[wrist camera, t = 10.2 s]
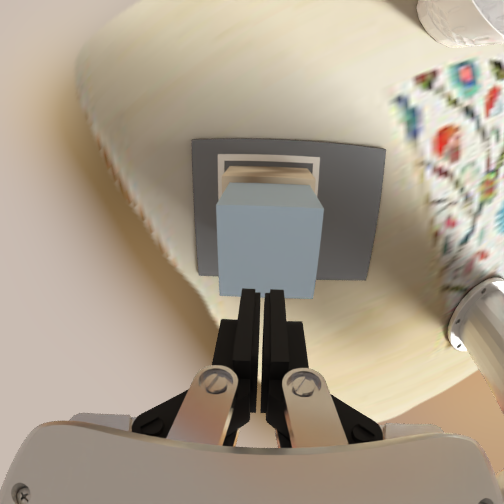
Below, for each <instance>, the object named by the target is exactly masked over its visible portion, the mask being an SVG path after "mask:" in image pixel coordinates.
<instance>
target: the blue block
mask: <svg viewBox="0 0 504 504" xmlns="http://www.w3.org/2000/svg"><path fill="white" fill-rule="evenodd" d="M323 213H324V208H323V206H322V205H321V203H320V201H319V199H318V198H317V196H316V195H315V193H314V191H313V190H312V188H311V186H310V185H297V184H273V183H232V182H229V184H228V186H227V187H226V189H225V191H224V192H223V194H222V196H221V198H220V199H219V201H218V203H217V204H216V216H217V246H218V270H219V291H220V296H238V297H241V292H242V288H246V289H255V292H260V293H261V296H260V297H263V298H265V293H270V289H278V290H284V298H298V299H313V296H314V289H315V282H316V274H317V266H318V258H319V250H320V242H321V232H322V223H323Z"/></svg>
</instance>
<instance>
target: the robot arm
mask: <svg viewBox="0 0 504 504" xmlns="http://www.w3.org/2000/svg"><path fill="white" fill-rule="evenodd" d="M260 296H261V293H260V292H255V289H246V288H242V292H241V300H240V307H239V314H238V320H230V319H222V320H221V323H220V328H219V333H218V338H217V342H216V347H215V352H214V358H213V362H212V366H207V367H205V368H202V369H201V370H200V371H199V372H198V373H197V374H196V375H195V377H194V379H193V381H192V383H191V385H190V388H189V389H188V390H186V391H185V392H183V393H181V394H179V395H177V396H175V397H173V398H171V399H170V400H168V401H166V402H164V403H162V404H160V405H158V406H156V407H154V408H152V409H150V410H148V411H147V412H144V413H142V414H141V415H139V416H138V417H134V418H133V417H131V416H130V415H114V414H93V413H79V414H77V415H74V416H73V417H72V418H71V419H70V420H69V421H53V422H47V423H43V424H41V425H39V426H37V427H36V428H34V429H33V430H32V431H31V432H30V434H29V435H28V436H27V437H26V439H25V440H24V442H23V443H22V445H21V447H20V448H19V450H18V452H17V454H16V456H15V458H14V460H13V462H12V464H11V466H10V468H9V470H8V472H7V475H6V477H5V480H4V482H3V485H2V487H1V490H0V504H504V468H503V469H502V470H501V471H499V472H498V473H497V474H495V473H494V470H493V468H492V466H491V463H490V461H489V459H488V457H487V455H486V453H485V451H484V450H483V448H482V447H481V446H480V444H479V443H478V442H477V441H475V440H474V439H472V438H471V437H468V436H464V435H461V434H454V433H444V432H443V430H442V429H441V428H440V427H438V426H436V425H431V424H392V423H386V424H385V425H384V426H382V425H381V426H380V425H378V424H377V423H376V422H375V421H373V420H372V419H370V418H368V417H366V416H365V415H363V414H362V413H360V412H358V411H357V410H355V409H353V408H352V407H350V406H349V405H347V404H345V403H344V402H342V401H341V400H339V399H337V398H336V397H334V396H333V395H331V394H330V392H329V389H328V386H327V384H326V381H325V379H324V377H323V376H322V375H321V374H320V373H319V372H317V371H315V370H313V369H309V366H308V359H307V351H306V344H305V337H304V330H303V324H302V322H296V321H286V311H285V299H284V290H278V289H270V293H265V302H264V325H263V347H262V382H261V413H266V421H267V423H269V424H270V425H271V426H272V427H274V428H275V435H276V440H277V445H278V448H247V447H235V446H236V442H237V439H238V436H239V431H240V427H242V426H243V425H244V424H246V423H247V422H249V420H250V412H252V413H253V412H254V413H256V398H257V376H258V352H259V325H260ZM448 339H449V341H450V343H451V345H452V346H453V347H454V348H455V349H456V350H459V351H468V352H469V354H470V355H471V357H472V359H473V360H474V362H475V364H476V365H477V367H478V369H479V370H480V372H481V373H482V375H483V377H484V379H485V381H486V382H487V384H488V386H489V388H490V390H491V391H492V393H493V395H494V397H495V399H496V400H497V402H498V404H499V406H500V408H501V410H502V412H503V414H504V279H502V278H499V277H498V278H490V279H487V280H485V281H483V282H481V283H480V284H478V285H477V286H475V287H474V288H473V289H472V290H471V291H470V292H469V293H468V294H467V295H466V296H465V297H464V298H463V299H462V301H461V302H460V303H459V305H458V306H457V308H456V309H455V311H454V313H453V315H452V317H451V319H450V323H449V326H448Z"/></svg>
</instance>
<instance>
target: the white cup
mask: <svg viewBox="0 0 504 504" xmlns="http://www.w3.org/2000/svg"><path fill="white" fill-rule="evenodd" d="M416 8H417V13H418V17H419V20H420V22H421V23H422V25H423V27H424V28H425V30H426V32H427V33H428V34H429V35H431V36H432V37H433V38H434V39H435V40H436V41H437V42H439V43H441V44H443V45H445V46H447V47H458V48H459V47H465V46H468V47H470V46H482V45H492V44H502V43H504V0H418V3H417V7H416Z"/></svg>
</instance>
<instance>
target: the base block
mask: <svg viewBox="0 0 504 504" xmlns="http://www.w3.org/2000/svg"><path fill="white" fill-rule="evenodd" d="M229 182H232V183H273V184H297V185H310V186H311V188H312V190H313V191H314V193H315V182H316V179H315V178H314V176H313V175H312V174H311V172H310V171H309V170H308V169H307V168H292V167H266V166H229V168H228V169H227V170H226V171H225V173H224V174H223V175H222V194H223V192H224V191H225V189H226V187H227V186H228V184H229Z"/></svg>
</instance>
